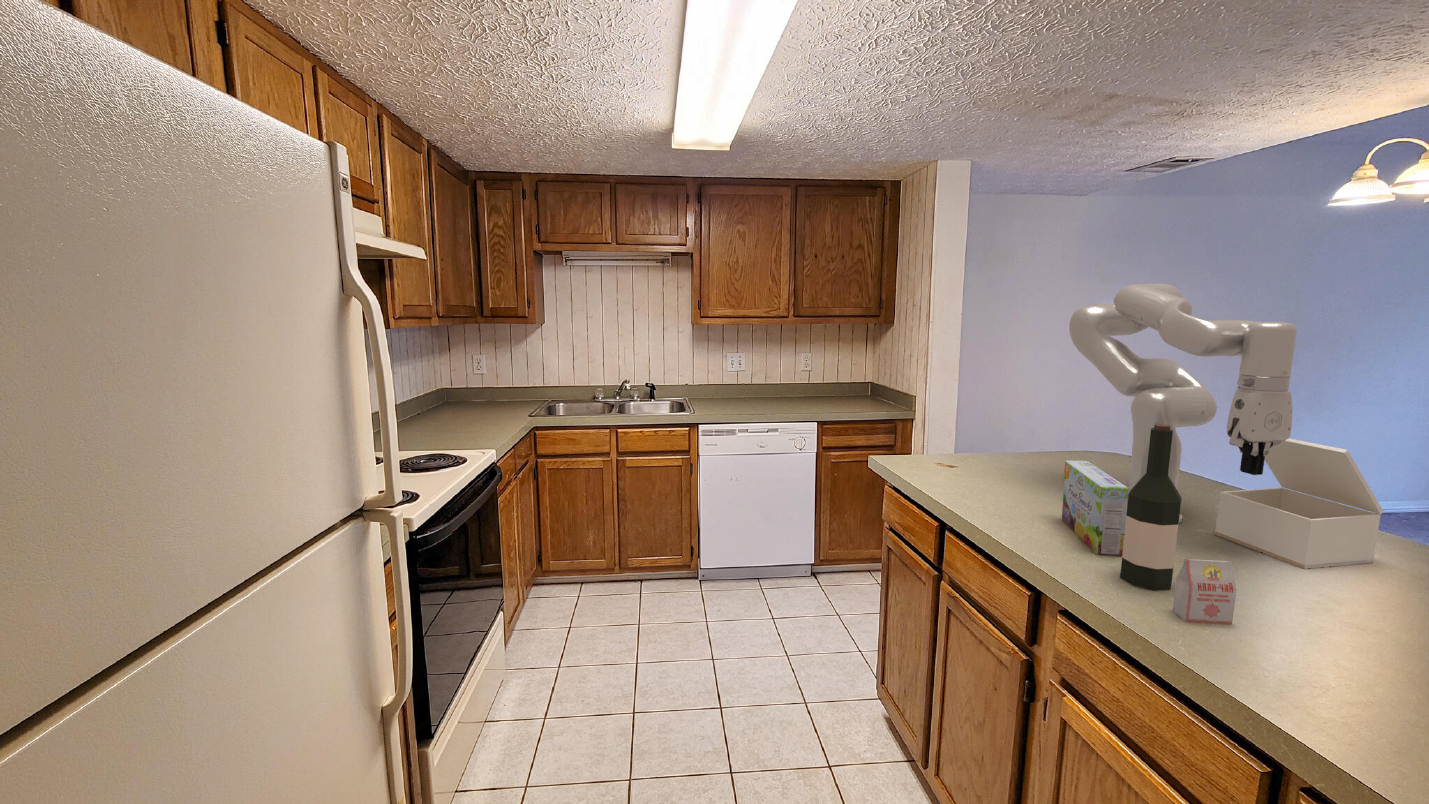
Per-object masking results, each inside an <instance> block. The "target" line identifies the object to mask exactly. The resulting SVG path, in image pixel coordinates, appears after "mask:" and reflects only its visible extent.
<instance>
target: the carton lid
mask: <svg viewBox="0 0 1429 804" xmlns="http://www.w3.org/2000/svg"><path fill="white" fill-rule="evenodd" d="M1264 456H1265V455H1264ZM1264 462H1265V463H1266V465H1267V467H1269V469H1270V471H1271V473H1272V474H1273V476H1274V477H1275V478H1276V480H1277V482H1278V484H1279V485H1280V488H1285V489H1288V490H1292V491H1295V492H1299V493H1303V494H1306V495H1310V496H1314V497H1317V498H1321V499H1325V500H1328V501H1332V502H1335V503H1339V504H1343V505H1346V506H1350V507H1354V508H1357V509H1361V510H1365V511H1368V512H1372V513H1375V514H1379V515H1383V513H1384V512H1385V511H1384V510H1383V508H1382V505H1381V504H1380V503H1379V501H1378V499H1377V497H1376V496H1375V494H1374V492H1373V491H1372V489H1371V487H1370V486H1369V484H1368V481H1367V480H1366V479H1365V477H1364V476H1363V474H1362V472H1361V470H1360V469H1359V467H1358V465H1357V464H1356V462H1355V460H1354V458H1353V457H1352V455H1351V453H1350V451H1349V450H1348V449H1346V448H1345V449H1344V448H1339V447H1334V446H1329V445H1324V444H1319V443H1313V442H1310V441H1309V442H1308V441H1303V440H1300V439H1295V438H1290V437H1289V438H1288V439H1287V440H1284V441H1281V443H1280V444H1278V445H1275V446H1272V447H1271V448H1270V449H1269V453H1268V455H1266V456H1265V460H1264Z"/></svg>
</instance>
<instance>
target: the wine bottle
mask: <svg viewBox="0 0 1429 804" xmlns="http://www.w3.org/2000/svg"><path fill="white" fill-rule="evenodd" d="M1170 427H1171V425H1167V424H1155V425H1154V428H1151V434H1150V443H1149V452H1148V462H1147V471H1146V473H1145V475H1144V476H1143V477H1142V478H1141V479H1140V480H1139V481H1138V482H1137V483H1136V484H1135V486H1134V487H1133V488H1132V489H1131V490H1130V492H1129V494H1128V504H1127V514H1126V524H1125V534H1124V544H1123V553H1122V556H1121V564H1120V575H1119V579H1121V580H1123V581H1124V582H1125V583H1128V584H1129V585H1131V586H1133V587H1137V588H1141V589H1145V590H1149V591H1153V592H1157V591H1170V590H1171V589H1172V584H1173V583H1172V582H1173V574H1174V567H1175V559H1176V550H1177V541H1178V532H1179V524H1180V523H1179V516H1180V514H1181V507H1182V499H1183V498H1182V496H1181V494H1180V493H1179V491H1178V488H1177V489H1176V487H1175V486H1174V484H1173V482H1172V481H1171V479H1170V477H1169V475H1168V471H1169V463H1170V454H1171V445H1172V436H1173V430H1171V429H1170Z"/></svg>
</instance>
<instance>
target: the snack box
mask: <svg viewBox="0 0 1429 804" xmlns="http://www.w3.org/2000/svg"><path fill="white" fill-rule="evenodd" d="M1128 487H1129V486H1126V485H1125V484H1123V483H1122V482H1120V481H1118V480H1117V479H1116V478H1114V477H1112V476H1111V475H1110V474H1108V473H1106V471H1104V470H1102V469H1100V468H1099V467H1098V466H1096V465H1094V464H1093V463H1091V462H1089V460H1064V475H1063V492H1062V509H1061V511H1062V512H1061V520H1062V521H1063V522H1064V523H1065V524H1066V525H1067V526H1068V527H1069V528H1070V529H1071V530H1072V531H1073V532H1074V533H1075V534H1076V535H1077V536H1078V537H1079V538H1080V539H1081V540H1082V541H1083V543H1085V544H1086V545H1087V546H1088V547H1089V549H1090V550H1092V552H1094V554H1096V555H1098V556H1100V555H1102V556H1119V557H1120V556H1121V557H1122V553H1123V544H1124V534H1125V524H1126V513H1127V501H1128V491H1129V488H1128Z"/></svg>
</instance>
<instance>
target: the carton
mask: <svg viewBox="0 0 1429 804" xmlns="http://www.w3.org/2000/svg"><path fill="white" fill-rule="evenodd" d="M1218 499H1219V500H1218V507H1217V515H1216V516H1217V517H1216V524H1215V532H1214V535H1215V536H1217V537H1219V538H1223V539H1225V540H1227V541H1230V542H1233V543H1236V544H1238V545H1241V546H1243V547H1246V548H1248V549H1252V550H1253V551H1256V550H1257V552H1259V553H1261V552H1263V553H1262V554H1263V555H1267V556H1269V557H1272V558H1274V559H1277V560H1279V561H1282V562H1285V563H1288V564H1290V565H1292V566H1295V567H1296V568H1297V567H1298V568H1301V569H1303V570H1307V569H1308V568H1311V569H1321V567H1323V568H1330V567H1329V566H1334V567H1343V566H1354V565H1355V566H1356V565H1364V564H1373V562H1374V556H1375V553H1376V552H1375V550H1376V546H1377V539H1378V533H1379V527H1380V521H1381V515H1382V514H1377V513H1374V512H1370V511H1366V510H1363V509H1359V508H1355V507H1352V506H1348V505H1345V504H1341V503H1337V502H1334V501H1330V500H1326V499H1323V498H1319V497H1315V496H1312V495H1308V494H1304V493H1301V492H1297V491H1294V490H1290V489H1286V488H1283V487H1272V488H1259V489H1258V488H1257V489H1244V490H1243V489H1242V490H1241V489H1240V490H1227V491H1220V492H1219V498H1218ZM1308 570H1309V569H1308Z"/></svg>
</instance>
